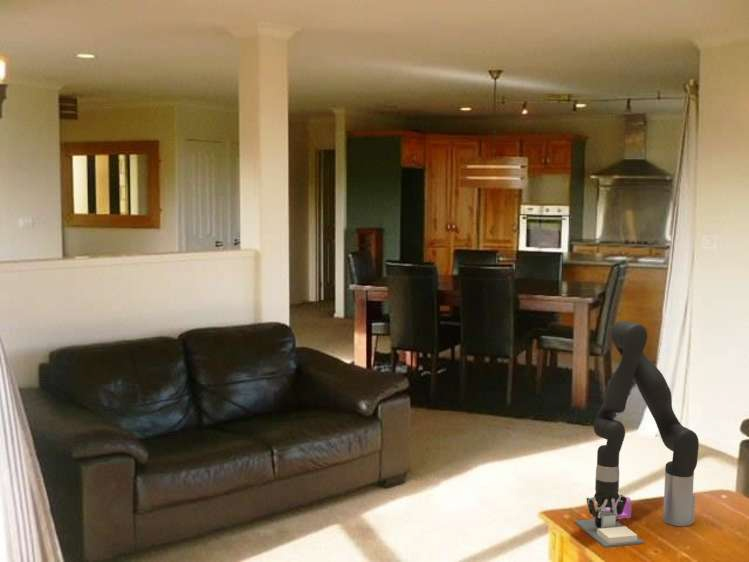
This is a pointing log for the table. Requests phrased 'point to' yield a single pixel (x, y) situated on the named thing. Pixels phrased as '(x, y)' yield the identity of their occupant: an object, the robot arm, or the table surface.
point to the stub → (608, 519)
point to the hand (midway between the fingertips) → (605, 526)
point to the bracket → (626, 510)
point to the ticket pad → (593, 533)
